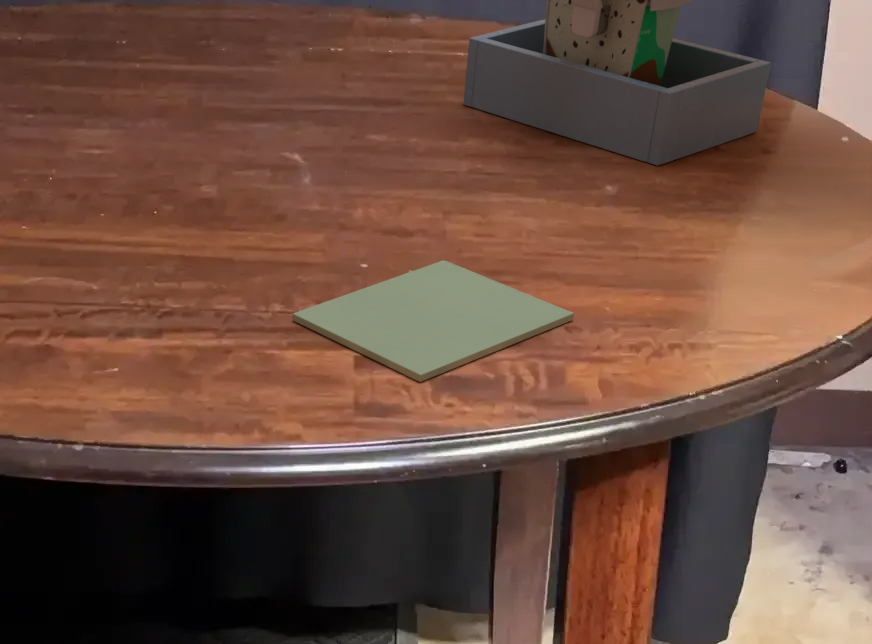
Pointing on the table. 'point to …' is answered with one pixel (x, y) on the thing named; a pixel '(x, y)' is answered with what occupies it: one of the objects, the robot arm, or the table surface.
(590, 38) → the food container
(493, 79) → the box
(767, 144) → the table surface
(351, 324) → the mat
